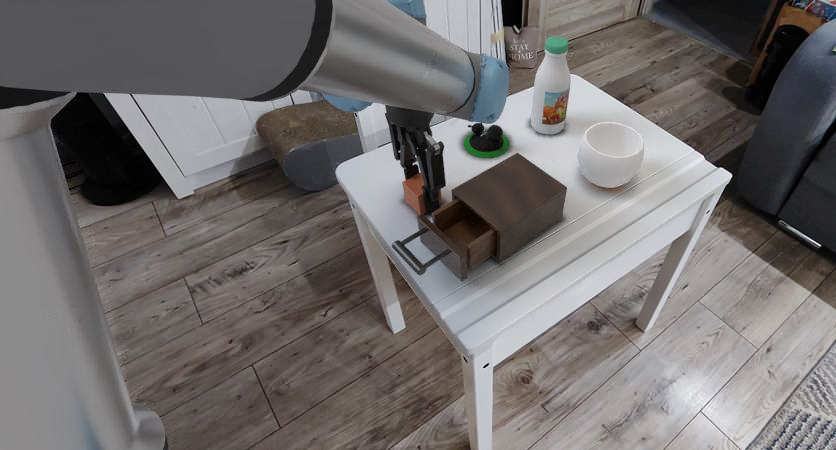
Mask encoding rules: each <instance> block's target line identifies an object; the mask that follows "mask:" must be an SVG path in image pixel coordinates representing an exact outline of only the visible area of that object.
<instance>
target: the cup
mask: <svg viewBox="0 0 836 450" xmlns="http://www.w3.org/2000/svg"><path fill="white" fill-rule="evenodd" d="M644 156H645V140H644V139H643V137H642V135H641V133H640V132H639V131H637V130H636V129H634V128H633V127H632V126H629V125H626V124H624V123H621V122H616V121H601V122H598V123H595V124H592V125H590V126H589V127H588V128H587V129H586V130H585V131H584V133H583V135H582V137H581V139H580V142H579V147H578V151H577V160H578V161H577V162H578V166H579V169H580V172H581V174H582V175H583V177H585V178H586V180H587V181H588V182H589V183H591V184H593V185H595V186H597V187H601V188H606V189H608V188H609V189H611V188H618V187H620V186H623V185H625V184H627V183H629V182H630V181H631V180H632V179H633V178H634V176H636V174H637V173H638V171H639V170H640V169H641V166H642V163H643V160H644Z"/></svg>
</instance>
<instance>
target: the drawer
mask: <svg viewBox="0 0 836 450" xmlns="http://www.w3.org/2000/svg"><path fill="white" fill-rule="evenodd" d="M431 217H432V221H431V220H430V219H429V218H428V216H426V215H425V213H424V214H421V215H420V214H418V215H417V216H416V220H417V227H418V231H415V232H414V233H413V234H411V235H409V236H407V237H406V238H404V239H402V240H399V239H397V240H395V241H393V243H392V245H391V248H392V250H394V251H395V253H397V255H398V256H399V257H401V259H403V261H404V262H405V263H406V264H407V265H408V266H409V268H411V269H412V270H413V271H414V272H415V274H416V275H417V276H419V277H420V276H423V275H425V273H426V271H427V269H428V268H429V267H432V266H433V265H434V264H435V263H437V262H439V261H440V262H441V263H442V264H443V265H444V266H445V267H446V269H448V270H449V271H450V272H451V273H452V274H453V275H454V277H456V278H457V279H458V280H459V281H460V282H464V281H465V280H467V279H468V271H467V270H468V269H469V270H470V271H472V270H473V269H475V268H476V267H478V266H479V265H480V264H482V263H483V262H485V261H487V260H488V259H489V258H491V257H492V255H494V254H495V253H497V231H496V230H494V229H493V228H492V227H491V226H490V225H489V224H487V223H486V222H485V221H484V220H483V219H482V218H480V217H479V216H478V215H477V214H476V213H474V212H473V211H472V210H471V209H470V208H469V207H467V206H466V205H465V204H464V203H463V202H462V201H460V200H459V199H458V198H456V199H455V200H453V201H452V200H450V202H448V203H446V204H445V205H442V206H441V207H439V208H438V209H436V210H434V211H432V212H431ZM417 238H420V242H421V243H422V244H423V246H425V248H427V250H429V251H430V252H431V253H432V255H434V257H433V258H431V259H429V260H428V261H426V262H425V263H422V261H420V260H419V258H418V257H416V256H415V254H413V253H412V251H410V249H409V248H407V246H406V245H407V244H409V243H410V242H412V241H414V240H415V239H417ZM467 268H468V269H467Z"/></svg>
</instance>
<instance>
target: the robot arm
mask: <svg viewBox="0 0 836 450" xmlns="http://www.w3.org/2000/svg"><path fill="white" fill-rule="evenodd" d="M424 1H425V0H0V450H171V448H170V445H169V441H168V437H167V433H166V429H165V426H164V423H163V421H162V419H161V418H160V415H159V414H157V413H156V411H155V410H153V409H152V408H151V407H149V406H146V405H144V404H142V403H138V402H134V401H132V400H131V398H130V397H131V396H130V394H129V389H128V387H127V383H126V380H125V377H124V373H123V369H122V367H121V362H120V360H119V356H118V352H117V350H116V346H115V343H114V339H113V335H112V332H111V329H110V326H109V322H108V319H107V315H106V312H105V308H104V305H103V302H102V298H101V294H100V291H99V288H98V285H97V280H96V278H95V277H96V276H95V274H94V271H93V268H92V264H91V261H90V258H89V253H88V251H87V247H86V244H85V240H84V237H83V233H82V230H81V227H80V223H79V220H78V215H77V213H76V210H75V206H74V203H73V199H72V195H71V193H70V188H69V186H68V183H67V179H66V175H65V172H64V169H63V165H62V162H61V158H60V155H59V151H58V148H57V145H56V142H55V138H54V135H53V134H54V133H53V131H52V127H51V123H52V119H53V118H54V117H55V116H56V115H57V114H58V113H59V112H60V111H61V110H63V108H64V107H66V105H67V104H68V103H70V101H71V100H73V99H74V98H75V97H76V96H77V93H91V94H92V93H94V94H95V93H97V94H120V95H122V94H123V95H146V96H147V95H149V96H177V97H196V98H212V99H227V100H239V101H246V102H256V103H257V102H258V103H265V102H266V103H267V102H273V101H277V100H281V99H285V98H286V97H288V96H291V95H293V94H294V93H296V92H297V91H302V92H303V91H304V92H309V93H315V94H321V95H322V97H323V98H324V99H325V100H326V101H327V102H328V103H329V104H330V105H332V106H333V107H335V108H337V109H338V110H340V111H342V112H346V113H351V114H354V113H358V112H362V111H364V110H366V109H367V108H368V107H371V106H372V105H373V104H379V105H384V107H385V111H386V112H385V113H384V116H385V119H386V123H387V125H388V130H389V135H390V141H391V146H392V151H393V156H394V159H395V161H396V162H397V161H399V164H400V167H401V168H402V169H403V174H404V181H405V180H407V179H409V178H411V177H413V176H415V175H417V174H419V173H420V172H421V174H422V178H423V181H424V185H423V186H422V190H423V197H424V203H425V210H426V213H425V214H427V215H429V214H432V212H434V211H436V210H437V209H439V208H441V207H440V205H441V204H440V205H439V192H438V190H440V189H441V190H442V189H444V188H445V187H446V185H447V181H446V173H445V163H444V161H445V160H444V151H445V145H444V142H443V141H441V140H440V141H438V142H437V141H436V139H434V138H433V131H432V128H431V121H432V120H433V118H434V116H435V114H436V115H439V116H445V117H451V118H455V119H460V120H462V121H467V122H471V123H482V124H486V125H493V124H494V123H496V122H497V121H498V120H499V119H500V117H501V116H502V113H503V112H504V109H505V107H506V103H507V99H508V94H509V87H510V71H509V67H508V64H507V62H506V61H504V60H503V59H502V58H499V57H494V56H489V55H487V53H483V52H482V53H475V52H471V51H468V50H465V49H464V48H462V47H460V46H459V45H457V44H455V43H453V42H452V41H450V40H449V39H447V38H445V37H444V36H442V35H441V34H439V33H437V32H436V31H434V30H433V29H431V28H430V27H428V26H427V18H428V16H427V14H426V7H425V2H424ZM417 163H418V164H417Z"/></svg>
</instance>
